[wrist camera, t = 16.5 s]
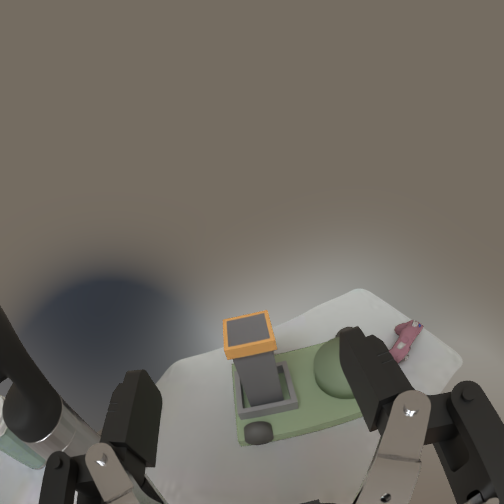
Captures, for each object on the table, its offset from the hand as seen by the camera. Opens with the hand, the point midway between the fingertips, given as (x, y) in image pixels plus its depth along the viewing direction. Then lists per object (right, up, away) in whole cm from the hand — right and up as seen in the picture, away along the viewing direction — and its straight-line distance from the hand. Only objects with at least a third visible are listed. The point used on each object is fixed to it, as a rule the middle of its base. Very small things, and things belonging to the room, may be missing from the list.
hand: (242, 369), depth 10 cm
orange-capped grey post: (+2, -17, +29) cm, 34 cm away
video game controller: (+26, -13, +32) cm, 44 cm away
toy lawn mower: (+10, -17, +30) cm, 36 cm away
